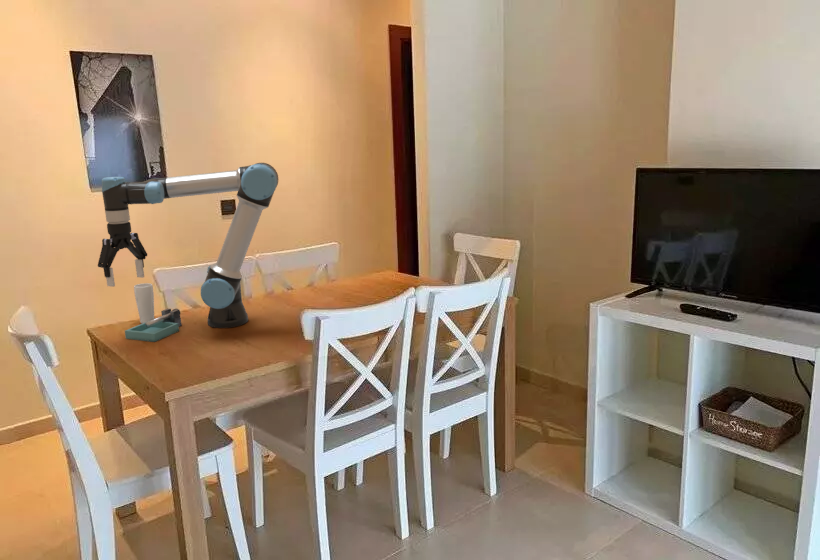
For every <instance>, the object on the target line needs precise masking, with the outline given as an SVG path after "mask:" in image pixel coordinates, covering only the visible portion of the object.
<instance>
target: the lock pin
mask: <svg viewBox="0 0 820 560" xmlns="http://www.w3.org/2000/svg"><path fill="white" fill-rule="evenodd" d="M176 309H178V310H180V309H179V308H174V309H172V310H171V311H173V310H176ZM170 318H171V316H170V313H168V314H165V315H163V316H162V315H161V316H158V317H156V318H155V319H153V320H151V321H148V322H146V323H145V325H146V327H150V326H153V325H155V324H158V323H160V322H162V321H165V320H167V319H170Z"/></svg>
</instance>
